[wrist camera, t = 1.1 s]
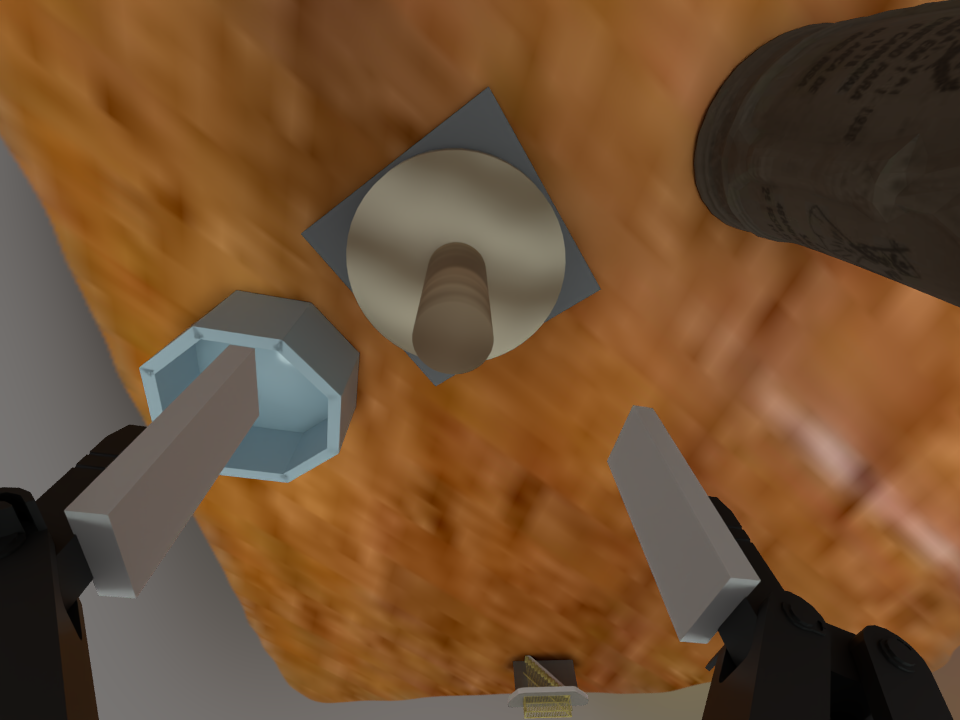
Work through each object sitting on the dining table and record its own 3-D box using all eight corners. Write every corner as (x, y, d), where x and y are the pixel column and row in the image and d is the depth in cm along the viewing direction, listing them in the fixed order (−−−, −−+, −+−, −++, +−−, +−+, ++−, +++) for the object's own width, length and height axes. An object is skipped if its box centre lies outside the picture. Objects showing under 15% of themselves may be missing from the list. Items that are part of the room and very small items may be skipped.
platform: (475, 631, 54) (476, 693, 48) (617, 628, 54) (635, 689, 49) (475, 677, 60) (475, 737, 54) (603, 673, 60) (617, 732, 55)
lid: (357, 124, 24) (291, 138, 15) (588, 174, 26) (656, 215, 16) (347, 336, 31) (297, 435, 22) (530, 365, 32) (556, 468, 23)
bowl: (181, 281, 29) (126, 315, 24) (362, 311, 30) (343, 349, 26) (203, 419, 35) (163, 468, 30) (354, 438, 37) (337, 488, 32)
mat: (305, 230, 28) (300, 233, 27) (488, 87, 24) (488, 86, 23) (436, 380, 34) (435, 386, 33) (597, 285, 30) (600, 289, 29)
